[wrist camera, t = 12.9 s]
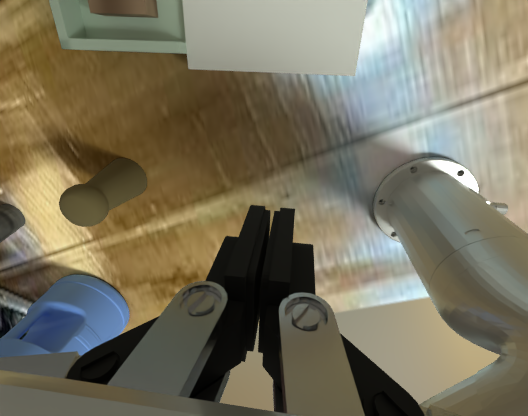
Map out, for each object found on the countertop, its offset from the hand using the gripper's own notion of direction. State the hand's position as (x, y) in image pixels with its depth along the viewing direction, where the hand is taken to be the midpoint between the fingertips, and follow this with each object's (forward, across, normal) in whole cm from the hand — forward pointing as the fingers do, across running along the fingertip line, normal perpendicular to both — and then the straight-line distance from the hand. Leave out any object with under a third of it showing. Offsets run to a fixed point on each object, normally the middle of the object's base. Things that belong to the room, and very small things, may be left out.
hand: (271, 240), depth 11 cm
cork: (+27, +24, +10) cm, 38 cm away
